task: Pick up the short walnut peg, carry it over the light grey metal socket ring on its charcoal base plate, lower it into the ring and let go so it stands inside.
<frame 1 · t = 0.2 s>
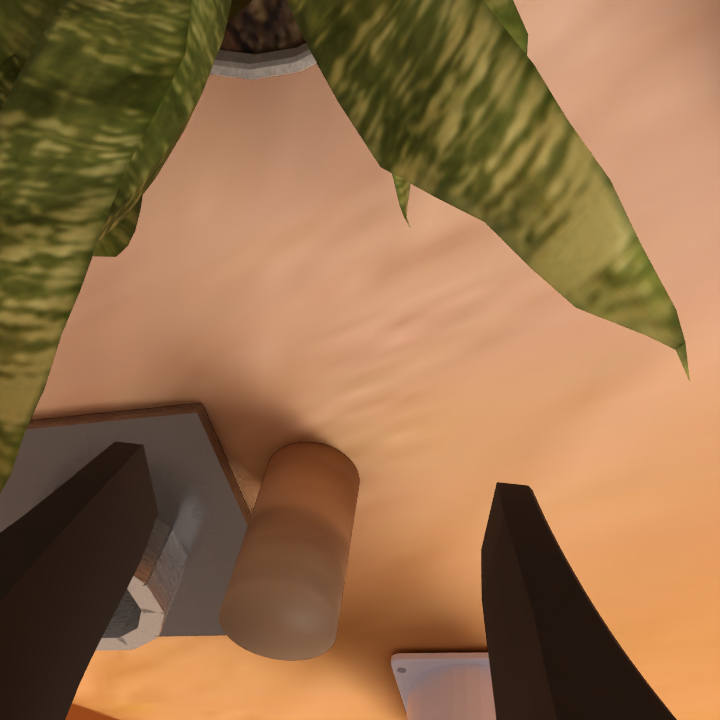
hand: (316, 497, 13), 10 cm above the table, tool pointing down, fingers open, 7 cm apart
socket: (113, 536, 30), on the table
peg: (313, 477, 26), on the table
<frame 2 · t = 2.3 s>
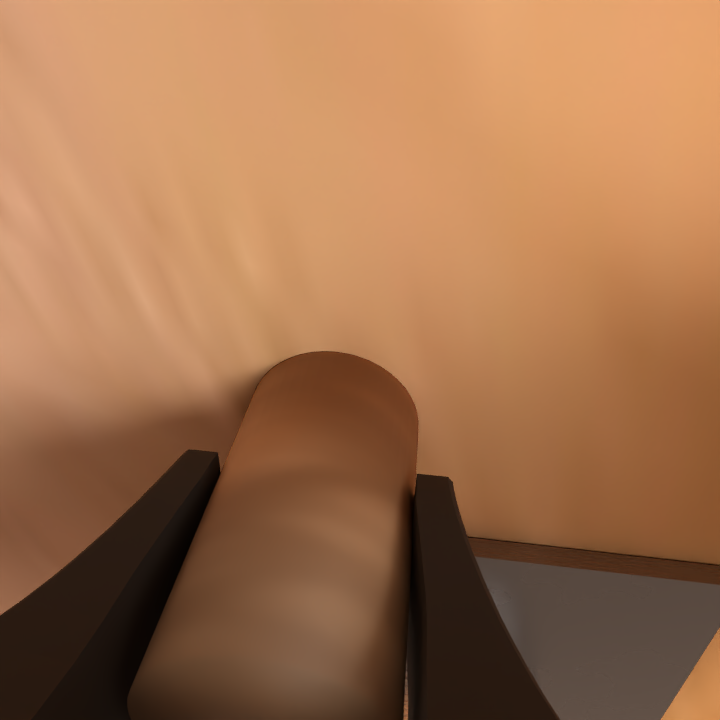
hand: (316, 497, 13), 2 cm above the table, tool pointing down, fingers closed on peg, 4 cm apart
socket: (417, 682, 21), on the table
peg: (334, 421, 15), on the table, touching gripper
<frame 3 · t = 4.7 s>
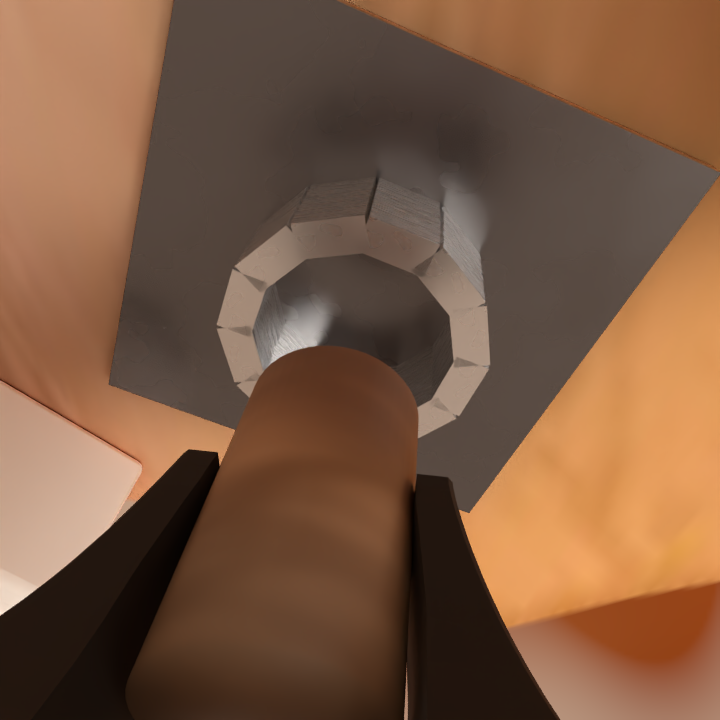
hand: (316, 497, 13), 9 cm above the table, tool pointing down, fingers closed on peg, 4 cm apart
socket: (365, 287, 20), on the table
peg: (334, 417, 15), point 7 cm above the table, touching gripper
medicine bottle: (43, 460, 27), on the table
when the fingers open (4 cm above the table, at t = 7.0 s): peg drops 1 cm, resting on socket.
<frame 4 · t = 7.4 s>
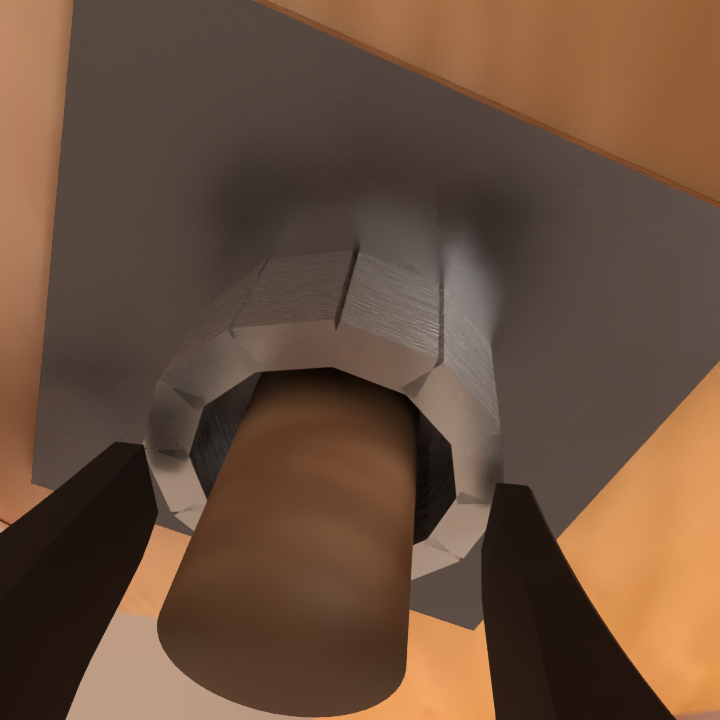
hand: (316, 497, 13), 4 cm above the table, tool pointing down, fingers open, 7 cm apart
socket: (344, 378, 16), on the table
peg: (341, 388, 15), point 1 cm above the table, touching socket
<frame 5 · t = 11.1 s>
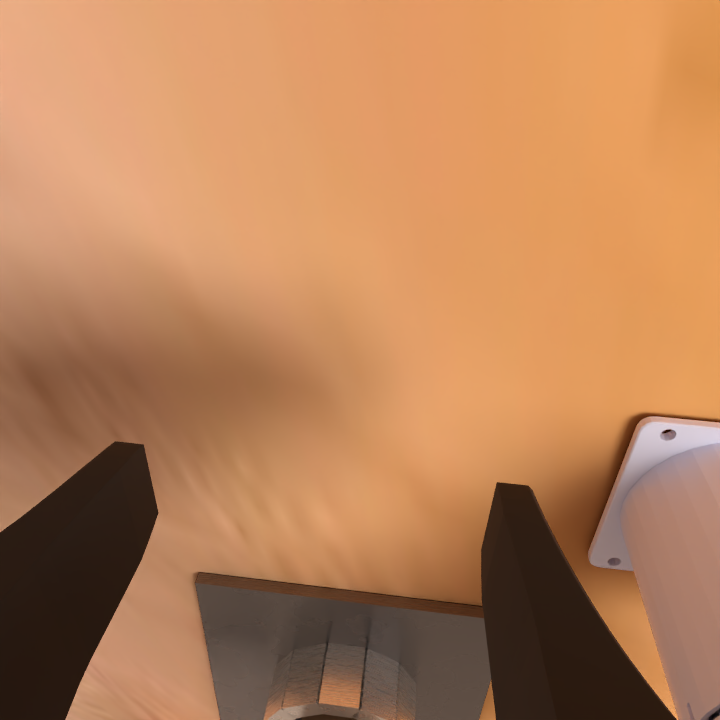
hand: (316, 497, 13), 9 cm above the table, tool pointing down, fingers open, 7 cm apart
socket: (346, 673, 34), on the table
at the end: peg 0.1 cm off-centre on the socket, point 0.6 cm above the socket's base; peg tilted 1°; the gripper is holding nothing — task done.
